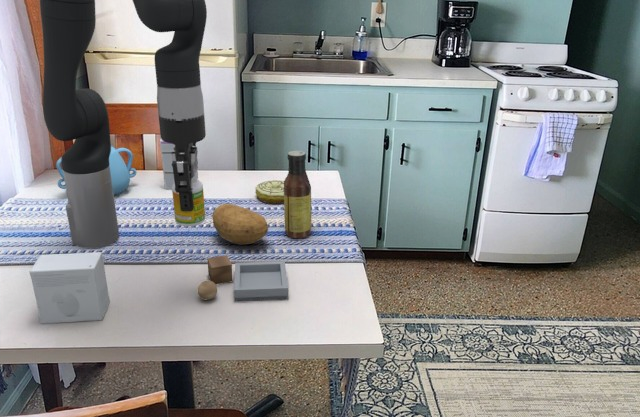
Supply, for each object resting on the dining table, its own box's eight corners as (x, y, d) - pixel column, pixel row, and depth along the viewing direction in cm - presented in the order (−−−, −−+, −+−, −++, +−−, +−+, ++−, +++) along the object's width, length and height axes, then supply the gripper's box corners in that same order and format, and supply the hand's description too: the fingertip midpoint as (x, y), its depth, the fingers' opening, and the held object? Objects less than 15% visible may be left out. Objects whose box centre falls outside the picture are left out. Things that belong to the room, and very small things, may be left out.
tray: (234, 301, 102) (234, 290, 101) (235, 273, 111) (235, 262, 110) (288, 299, 103) (288, 288, 102) (284, 271, 112) (284, 261, 111)
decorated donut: (303, 200, 146) (303, 187, 145) (267, 208, 141) (267, 195, 139) (283, 187, 154) (283, 175, 152) (249, 194, 149) (249, 182, 147)
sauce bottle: (316, 234, 128) (319, 153, 120) (297, 242, 124) (299, 160, 116) (297, 225, 132) (298, 146, 124) (278, 233, 128) (277, 152, 120)
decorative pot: (105, 208, 138) (98, 157, 132) (53, 198, 142) (44, 148, 137) (143, 186, 152) (139, 139, 146) (95, 177, 156) (89, 131, 151)
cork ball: (197, 304, 101) (196, 287, 99) (198, 293, 104) (197, 277, 103) (217, 303, 101) (216, 286, 100) (218, 292, 104) (217, 276, 103)
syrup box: (185, 190, 150) (181, 139, 144) (164, 189, 150) (159, 138, 144) (190, 182, 155) (186, 133, 149) (169, 182, 155) (165, 132, 149)
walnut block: (212, 285, 107) (211, 267, 105) (208, 275, 110) (207, 258, 109) (232, 281, 108) (231, 264, 107) (227, 272, 112) (227, 254, 110)
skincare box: (110, 299, 101) (103, 250, 97) (103, 320, 95) (94, 269, 91) (50, 303, 100) (40, 252, 95) (39, 324, 94) (27, 272, 90)
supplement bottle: (198, 228, 97) (194, 177, 93) (170, 225, 98) (164, 174, 94) (209, 216, 102) (206, 167, 98) (183, 213, 103) (178, 164, 99)
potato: (250, 259, 116) (250, 225, 113) (203, 240, 123) (201, 208, 120) (279, 242, 124) (279, 210, 121) (232, 225, 131) (231, 194, 128)
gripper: (164, 101, 98) (173, 189, 105) (151, 123, 85) (161, 221, 92) (207, 101, 99) (212, 188, 105) (200, 122, 86) (207, 220, 92)
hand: (189, 203), depth 99 cm, fingers closed on supplement bottle, 5 cm apart
